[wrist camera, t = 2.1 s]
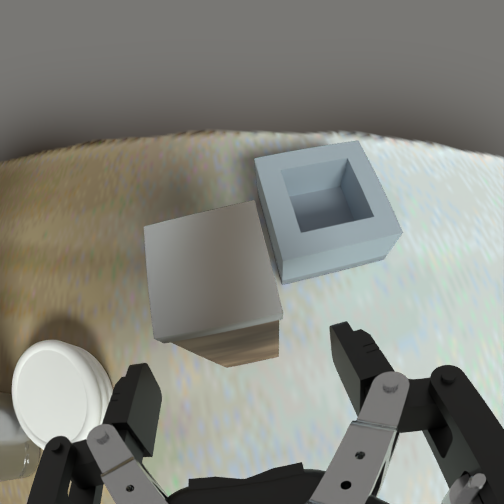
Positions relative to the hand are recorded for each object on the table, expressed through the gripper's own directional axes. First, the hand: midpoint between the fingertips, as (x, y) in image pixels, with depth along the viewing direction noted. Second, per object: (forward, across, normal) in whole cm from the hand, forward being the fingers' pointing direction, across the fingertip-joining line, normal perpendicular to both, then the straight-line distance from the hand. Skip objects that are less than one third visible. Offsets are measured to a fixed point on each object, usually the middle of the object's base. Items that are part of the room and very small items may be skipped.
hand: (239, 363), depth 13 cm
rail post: (+10, 0, +6) cm, 11 cm away
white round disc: (+8, +17, +8) cm, 20 cm away
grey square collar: (+16, -8, 0) cm, 17 cm away
